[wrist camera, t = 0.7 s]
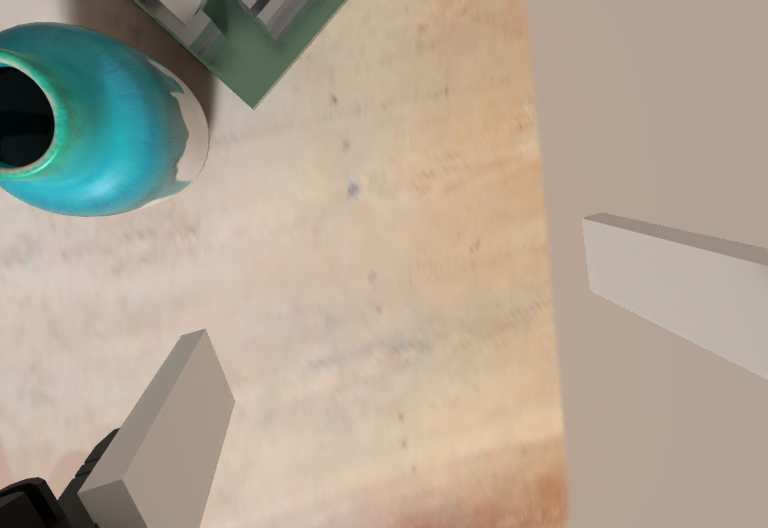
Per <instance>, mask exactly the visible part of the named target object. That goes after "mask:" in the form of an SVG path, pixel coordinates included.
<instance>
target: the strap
mask: <svg viewBox="0 0 768 528" xmlns="http://www.w3.org/2000/svg"><path fill="white" fill-rule="evenodd" d="M159 1H161V2H162V3H163V4H164V5H165V6H166V7H167V8H168V9H169V10H170V11H171V12H172V13H173V14H175V15H176V16H177V17H178V18H179V19H180V20H181V21H182V22H183V23H184V24H185V25H186V26H187V25H188V23H189V22H190V21H191V20H192V19H193V17H194V16H195V15H196V14H197V13H198V11H199V10H200V9H201V10H203V8H204V6H205V4H206V2H207V0H159Z"/></svg>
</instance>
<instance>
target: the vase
mask: <svg viewBox="0 0 768 528" xmlns="http://www.w3.org/2000/svg"><path fill="white" fill-rule="evenodd" d="M209 141H210V135H209V127H208V123H207V119H206V116H205V113H204V111H203V109H202V107H201V105H200V103H199V102H198V100H197V99H196V97H195V95H194V94H193V93H192V92H191V90H190V89H189V88H188V87H187V86H186V85H185V83H184V82H182V81H181V80H180V79H179V78H178V77H177V76H176V75H175V74H173V73H172V72H171V71H170V70H169V69H168V68H166V67H165V66H163V65H162V64H160V63H159V62H157V61H156V60H154V59H153V58H151V57H150V56H148V55H147V54H145V53H143V52H141V51H140V50H138V49H136V48H134V47H132V46H130V45H128V44H126V43H123V42H121V41H119V40H117V39H115V38H113V37H111V36H108V35H105V34H103V33H100V32H96V31H93V30H90V29H87V28H83V27H80V26H75V25H69V24H62V23H56V22H35V23H28V24H22V25H17V26H15V27H12V28H9V29H6V30H3V31H1V32H0V187H2V188H3V189H4V190H6V191H7V192H9V193H10V194H11V195H13V196H14V197H16V198H18V199H20V200H22V201H24V202H25V203H27V204H29V205H32V206H34V207H37V208H40V209H42V210H45V211H49V212H53V213H57V214H62V215H69V216H81V217H94V216H110V215H116V214H121V213H126V212H131V211H136V210H139V209H143V208H146V207H149V206H152V205H155V204H157V203H160V202H162V201H165V200H167V199H169V198H170V197H172V196H174V195H176V194H177V193H179V192H181V191H182V190H184V189H185V188H186V187H187V186H188V185H190V184H191V183H192V182H193V181H194V179H195V178H196V177H197V176H198V175H199V173H200V172H201V170H202V168H203V166H204V164H205V162H206V159H207V156H208V151H209Z"/></svg>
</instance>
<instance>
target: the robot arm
mask: <svg viewBox="0 0 768 528" xmlns="http://www.w3.org/2000/svg"><path fill="white" fill-rule="evenodd" d="M582 223H583V232H584V240H585V249H586V258H587V267H588V275H589V284H590V290H591V291H592V292H594V293H596V294H598V295H600V296H602V297H604V298H606V299H608V300H610V301H612V302H614V303H616V304H618V305H620V306H622V307H624V308H626V309H628V310H630V311H632V312H634V313H636V314H638V315H640V316H642V317H644V318H646V319H648V320H650V321H652V322H654V323H656V324H657V325H660V326H661V327H664V328H665V329H667V330H669V331H672V332H673V333H675V334H677V335H679V336H681V337H683V338H685V339H687V340H689V341H691V342H693V343H695V344H697V345H699V346H701V347H703V348H705V349H707V350H709V351H711V352H713V353H715V354H717V355H719V356H721V357H723V358H725V359H727V360H729V361H731V362H733V363H735V364H737V365H739V366H741V367H743V368H745V369H747V370H749V371H751V372H753V373H755V374H757V375H759V376H761V377H763V378H765V379H767V380H768V249H766V248H761V247H757V246H752V245H747V244H743V243H739V242H734V241H729V240H725V239H720V238H716V237H711V236H707V235H702V234H697V233H693V232H688V231H683V230H679V229H674V228H670V227H665V226H661V225H657V224H652V223H648V222H643V221H638V220H634V219H629V218H624V217H620V216H616V215H611V214H607V213H599V214H595V215H592V216H589V217H585V218H582ZM234 403H235V400H234V397H233V395H232V392H231V390H230V387H229V385H228V383H227V380H226V378H225V375H224V373H223V370H222V368H221V365H220V363H219V360H218V358H217V355H216V353H215V350H214V348H213V345H212V343H211V341H210V338H209V336H208V333H207V331H206V329H203V330H199V331H196V332H193V333H189V334H186V335H182V336H181V337H180V339H179V340H178V342H177V343H176V345H175V346H174V348H173V349H172V351H171V352H170V354H169V356H168V357H167V359H166V360H165V362H164V363H163V365H162V366H161V368H160V369H159V371H158V372H157V374H156V375H155V377H154V378H153V380H152V381H151V383H150V384H149V386H148V387H147V389H146V390H145V392H144V393H143V395H142V396H141V398H140V399H139V401H138V402H137V404H136V405H135V407H134V408H133V410H132V411H131V413H130V414H129V416H128V417H127V419H126V420H125V422H124V423H123V425H122V426H121V428H118V429H115V430H113V431H112V432H111V433H110V434H109V435H107V436H106V437H105V438H104V439H103V440H102V441H101V442H100V443H99V444H97V445H96V446H95V448H94V449H93V451H92V452H91V453H90V455H89V456H88V458H87V459H86V461H85V465H82V466H81V468H80V469H79V471H78V472H77V473H76V475H75V478H74V479H72V480H71V482H70V483H69V485H68V486H67V488H66V489H65V490H64V492H63V493H62V495H61V496H60V497H59V499H58V500H57V499H56V498H55V496H54V494H53V493H52V491H51V489H50V488H49V486H48V484H47V483H46V481H45V480H44V479H42V478H39V477H36V478H29V479H25V480H22V481H19V482H16V483H14V484H11V485H9V486H7V487H5V488H3V489H1V490H0V528H199V527H200V524H201V520H202V517H203V513H204V509H205V506H206V502H207V499H208V495H209V492H210V488H211V485H212V481H213V477H214V474H215V470H216V467H217V463H218V460H219V456H220V453H221V449H222V445H223V442H224V438H225V435H226V431H227V428H228V424H229V421H230V417H231V414H232V410H233V406H234Z"/></svg>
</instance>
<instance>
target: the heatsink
mask: <svg viewBox="0 0 768 528" xmlns="http://www.w3.org/2000/svg"><path fill="white" fill-rule="evenodd" d="M133 1H134V2H135V3H136V4H137V5H139V6H140V7H141V8H142V9H143V10H144V11H145V12H146V13H147V14H148V15H150V16H151V17H152V18H153V19H154V20H155V21H156V22H157V23H158V24H159V25H161V26H162V27H163V28H164V29H165V30H166V31H167V32H168V33H169V34H171V35H172V36H173V37H174V38H175V39H176V40H177V41H178V42H179V43H180V44H182V45H183V46H184V47H185V48H186V49H187V50H188V51H189V52H190V53H191V54H193V55H194V56H195V57H196V58H197V59H198V60H199V61H200V62H201V63H202V64H204V65H205V66H206V67H207V68H208V69H209V70H210V71H211V72H212V73H214V74H215V75H216V76H217V77H218V78H219V79H220V80H221V81H222V82H223V83H225V84H226V85H227V86H228V87H229V88H230V89H231V90H232V91H233V92H234V93H236V94H237V95H238V96H239V97H240V98H241V99H242V100H243V101H244V102H246V103H247V104H248V105H249V106H250V107H251V108H252V109H253V110H254V109H255V108H256V107H257V106H258V105H259V104H260V102H261V101H262V100H263V99H264V98H265V97H266V95H267V94H268V93H269V92H270V91H271V90H272V88H273V87H274V86H275V85H276V84H277V82H278V81H279V80H280V79H281V78H282V77H283V75H284V74H285V73H286V72H287V71H288V70H289V68H290V67H291V66H292V65H293V64H294V63H295V61H296V60H297V59H298V58H299V57H300V56H301V54H302V53H303V52H304V51H305V50H306V48H307V47H308V46H309V45H310V44H311V43H312V41H313V40H314V39H315V38H316V37H317V36H318V34H319V33H320V32H321V31H322V30H323V29H324V27H325V26H326V25H327V24H328V23H329V21H330V20H331V19H332V18H333V17H334V16H335V14H336V13H337V12H338V11H339V10H340V9H341V7H342V6H343V5H344V4H345V3H346V2H347V0H207V2H206V4H205V6H204V8H203V10H201V9H200V10H199V11H198V13H197V14H196V15H195V16H194V17H193V19H192V20H191V21H190V22H189V23H188V25H187V26H186V25H185V24H184V23H183V22H182V21H181V20H180V19H179V18H178V17H177V16H176V15H175V14H173V13H172V12H171V11H170V10H169V9H168V8H167V7H166V6H165V5H164V4H163V3H162V2H161V1H159V0H133Z"/></svg>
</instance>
